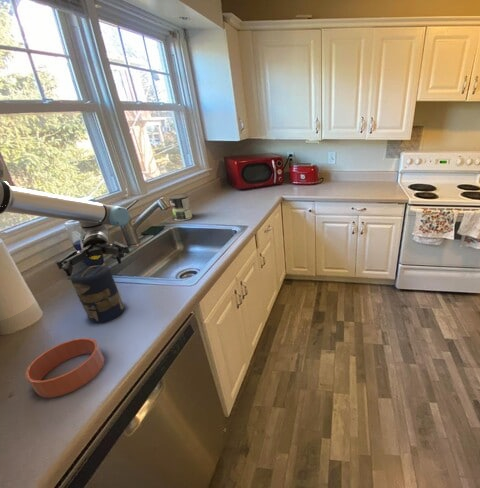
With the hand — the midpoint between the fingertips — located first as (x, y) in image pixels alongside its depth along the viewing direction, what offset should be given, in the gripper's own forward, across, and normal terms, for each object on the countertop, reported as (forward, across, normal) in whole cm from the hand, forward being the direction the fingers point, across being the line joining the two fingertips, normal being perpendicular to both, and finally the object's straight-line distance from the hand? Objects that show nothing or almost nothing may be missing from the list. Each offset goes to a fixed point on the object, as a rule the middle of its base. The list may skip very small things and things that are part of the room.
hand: (94, 266), depth 93 cm
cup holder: (+32, +8, -14) cm, 36 cm away
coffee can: (-75, -38, -15) cm, 86 cm away
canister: (+10, 0, -14) cm, 17 cm away
